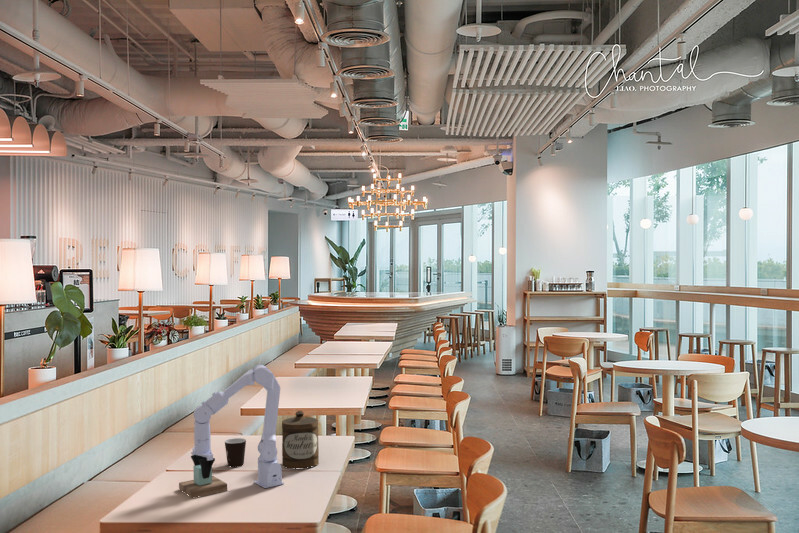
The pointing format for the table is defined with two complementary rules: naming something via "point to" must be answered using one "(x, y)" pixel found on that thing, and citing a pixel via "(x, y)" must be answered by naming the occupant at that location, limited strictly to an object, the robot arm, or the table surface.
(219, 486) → the walnut plinth
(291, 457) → the wooden container
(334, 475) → the table surface
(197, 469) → the teal block
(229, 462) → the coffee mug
